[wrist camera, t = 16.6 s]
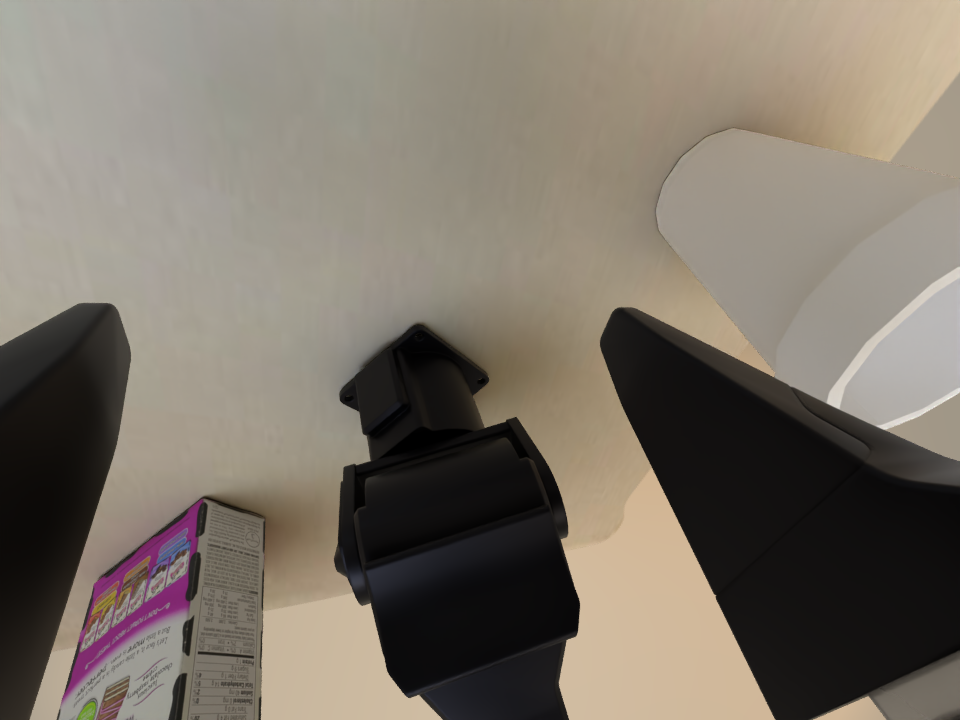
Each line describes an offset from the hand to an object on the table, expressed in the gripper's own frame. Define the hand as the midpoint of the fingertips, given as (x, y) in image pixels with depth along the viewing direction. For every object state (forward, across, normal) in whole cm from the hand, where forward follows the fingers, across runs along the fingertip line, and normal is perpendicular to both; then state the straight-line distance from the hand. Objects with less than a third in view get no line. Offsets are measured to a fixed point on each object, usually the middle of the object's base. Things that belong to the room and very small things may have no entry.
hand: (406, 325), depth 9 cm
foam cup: (+13, -19, +1) cm, 23 cm away
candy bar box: (+13, +10, +28) cm, 33 cm away
